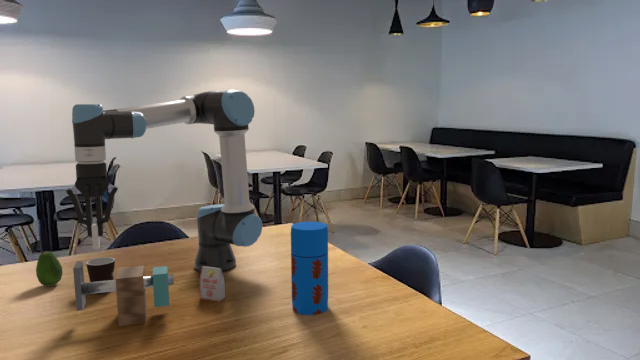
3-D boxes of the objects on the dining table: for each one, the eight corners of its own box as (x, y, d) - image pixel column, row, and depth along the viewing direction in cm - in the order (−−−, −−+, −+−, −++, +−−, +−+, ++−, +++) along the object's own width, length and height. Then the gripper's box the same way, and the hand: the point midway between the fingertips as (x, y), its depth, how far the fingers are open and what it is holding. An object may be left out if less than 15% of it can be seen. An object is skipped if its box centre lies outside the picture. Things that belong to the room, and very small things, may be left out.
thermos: (301, 318, 144) (300, 232, 140) (286, 304, 153) (284, 224, 150) (334, 310, 149) (334, 227, 145) (318, 298, 158) (317, 220, 155)
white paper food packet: (206, 294, 162) (205, 264, 161) (225, 297, 160) (223, 266, 158) (200, 298, 159) (198, 268, 157) (218, 301, 157) (217, 270, 155)
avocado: (32, 287, 170) (28, 252, 168) (54, 280, 176) (51, 246, 175) (47, 291, 166) (44, 256, 164) (69, 284, 173) (66, 249, 171)
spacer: (169, 296, 151) (167, 266, 149) (169, 305, 144) (167, 273, 143) (154, 298, 150) (153, 267, 148) (154, 307, 143) (152, 274, 142)
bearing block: (146, 309, 151) (144, 265, 149) (145, 322, 141) (142, 276, 139) (121, 312, 149) (118, 267, 147) (118, 326, 139) (115, 278, 137)
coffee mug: (106, 296, 161) (104, 265, 160) (82, 294, 163) (80, 264, 162) (127, 283, 173) (125, 255, 171) (104, 282, 174) (102, 253, 173)
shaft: (174, 292, 151) (172, 253, 149) (174, 299, 145) (172, 259, 143) (80, 302, 143) (76, 261, 141) (76, 310, 138) (73, 268, 136)
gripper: (61, 164, 131) (68, 253, 134) (115, 162, 134) (120, 249, 138) (66, 161, 138) (72, 246, 141) (118, 160, 142) (122, 242, 145)
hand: (96, 247), depth 139 cm, fingers closed
